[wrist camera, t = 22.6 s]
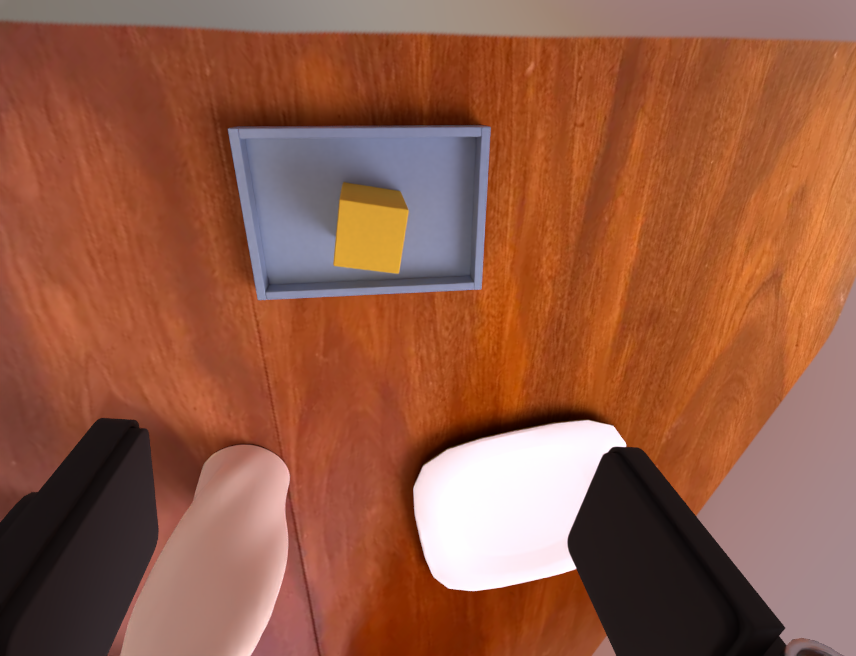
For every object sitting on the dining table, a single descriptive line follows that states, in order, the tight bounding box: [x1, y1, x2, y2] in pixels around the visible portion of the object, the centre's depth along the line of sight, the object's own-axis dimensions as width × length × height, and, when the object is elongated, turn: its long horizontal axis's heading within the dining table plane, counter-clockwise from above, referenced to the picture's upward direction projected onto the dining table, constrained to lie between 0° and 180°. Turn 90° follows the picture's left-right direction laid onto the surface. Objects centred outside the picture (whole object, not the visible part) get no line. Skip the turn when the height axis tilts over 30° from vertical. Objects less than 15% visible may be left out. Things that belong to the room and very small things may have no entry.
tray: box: [228, 125, 491, 300], centre depth 32 cm, size 16×11×2 cm
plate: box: [413, 419, 626, 591], centre depth 47 cm, size 22×22×2 cm
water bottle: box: [120, 445, 290, 656], centre depth 30 cm, size 10×9×28 cm
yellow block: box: [333, 182, 409, 274], centre depth 30 cm, size 4×4×6 cm
